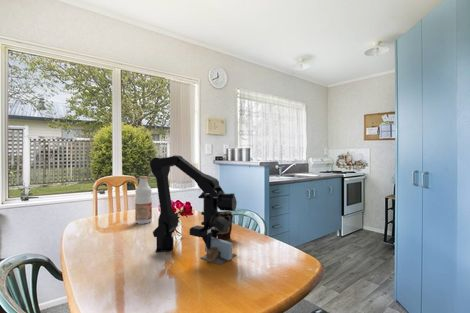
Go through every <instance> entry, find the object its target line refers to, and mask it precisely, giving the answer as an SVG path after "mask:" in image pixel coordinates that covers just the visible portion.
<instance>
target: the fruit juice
mask: <svg viewBox="0 0 470 313" xmlns="http://www.w3.org/2000/svg"><path fill="white" fill-rule="evenodd" d="M138 178H139V179H138V180H139V182H138V184H137V187H136V188H135V196H136V197H135V200H134V201H135V202H134V204H135V205H134V209H135V210H134V214H135V216H134V219H135V220H134V221H135V224H136V223H138V224H137V225H145V224H144V223H148V224H150V223H152V222H153V213H152V212H153V210H152V208H153V207H152V205H153V204H152V203H153V202H152V201H153V200H152V187H151V186H150V185H149V182H148V179H149V178H148V176H147V175H141V176H139V177H138ZM149 222H150V223H149Z"/></svg>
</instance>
